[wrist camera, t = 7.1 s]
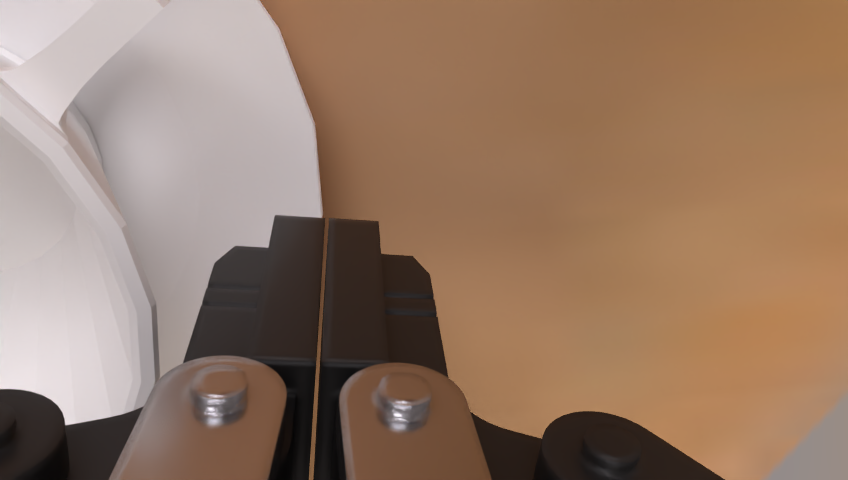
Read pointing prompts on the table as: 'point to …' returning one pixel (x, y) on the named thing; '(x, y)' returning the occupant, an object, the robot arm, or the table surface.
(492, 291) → the table surface
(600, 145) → the table surface
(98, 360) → the teacup
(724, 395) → the table surface
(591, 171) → the table surface
